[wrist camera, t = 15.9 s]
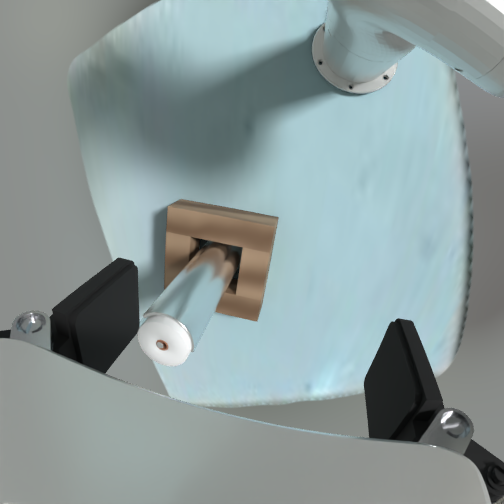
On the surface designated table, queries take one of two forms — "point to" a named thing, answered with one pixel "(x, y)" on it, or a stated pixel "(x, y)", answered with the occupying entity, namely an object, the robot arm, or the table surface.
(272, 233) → the socket block
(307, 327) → the table surface
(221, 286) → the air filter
